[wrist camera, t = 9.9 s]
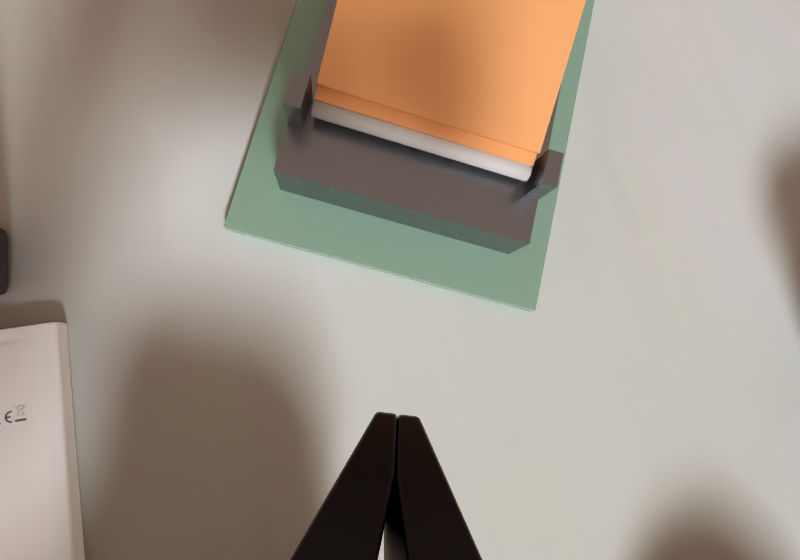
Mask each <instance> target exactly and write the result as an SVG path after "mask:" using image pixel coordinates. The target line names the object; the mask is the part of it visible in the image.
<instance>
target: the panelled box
mask: <svg viewBox="0 0 800 560" xmlns="http://www.w3.org/2000/svg"><path fill="white" fill-rule="evenodd" d="M6 291H7V248H6V231H5V230H3V229H1V228H0V295H1V294H4V293H6Z"/></svg>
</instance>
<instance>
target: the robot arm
mask: <svg viewBox="0 0 800 560" xmlns="http://www.w3.org/2000/svg"><path fill="white" fill-rule="evenodd" d="M383 531H384V560H482V558H481V556H480V554H479V551H478V549H477V547H476V545H475V542H474V540H473V538H472V536H471V533H470V531H469V529H468V527H467V524H466V522H465V520H464V518H463V515H462V513H461V511H460V508H459V506H458V504H457V502H456V499H455V497H454V495H453V493H452V490H451V488H450V486H449V484H448V481H447V479H446V477H445V475H444V472H443V470H442V468H441V466H440V463H439V461H438V459H437V457H436V454H435V452H434V450H433V447H432V445H431V443H430V441H429V438H428V436H427V434H426V432H425V429H424V427H423V425H422V423H421V421H420V419H419V418H418V417H416V416H408V415H399V416H398V417H397V416H396V415H395V414H392V413H384V412H377V413H376V414H375V415H374V417H373V419H372V420H371V422H370V424H369V425H368V427H367V429H366V431H365V432H364V434H363V436H362V437H361V439H360V441H359V443H358V444H357V446H356V448H355V449H354V451H353V453H352V455H351V456H350V458H349V460H348V461H347V463H346V465H345V467H344V468H343V470H342V472H341V473H340V475H339V477H338V479H337V480H336V482H335V484H334V485H333V487H332V489H331V491H330V492H329V494H328V496H327V497H326V499H325V501H324V502H323V504H322V506H321V508H320V509H319V511H318V513H317V514H316V516H315V518H314V520H313V521H312V523H311V525H310V526H309V528H308V530H307V532H306V533H305V535H304V537H303V538H302V540H301V542H300V544H299V545H298V547H297V549H296V550H295V552H294V554H293V556H292V557H291V559H290V560H378V555H379V551H380V546H381V541H382V536H383Z"/></svg>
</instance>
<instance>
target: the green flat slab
mask: <svg viewBox="0 0 800 560" xmlns="http://www.w3.org/2000/svg"><path fill="white" fill-rule="evenodd" d="M325 4H326V0H297V3H296V6H295V9H294V12H293V15H292V18H291V21H290V24H289V27H288V31H287V34H286V37H285V40H284V43H283V46H282V49H281V52H280V55H279V58H278V61H277V64H276V67H275V70H274V74H273V77H272V80H271V83H270V86H269V89H268V92H267V95H266V98H265V101H264V104H263V107H262V110H261V113H260V116H259V120H258V123H257V126H256V129H255V132H254V135H253V138H252V141H251V144H250V147H249V150H248V153H247V156H246V159H245V163H244V166H243V169H242V172H241V175H240V178H239V181H238V184H237V187H236V190H235V193H234V196H233V199H232V202H231V205H230V209H229V212H228V215H227V218H226V221H225V224H224V227H225V228H226V229H227V230H230V231H234V232H238V233H241V234H245V235H249V236H252V237H256V238H260V239H264V240H267V241H271V242H275V243H279V244H282V245H286V246H290V247H293V248H297V249H301V250H305V251H308V252H312V253H316V254H319V255H323V256H327V257H331V258H334V259H338V260H342V261H345V262H349V263H353V264H357V265H360V266H364V267H368V268H371V269H375V270H379V271H383V272H386V273H390V274H394V275H397V276H401V277H405V278H409V279H412V280H416V281H420V282H423V283H427V284H431V285H435V286H438V287H442V288H446V289H449V290H453V291H457V292H461V293H464V294H468V295H472V296H476V297H479V298H483V299H487V300H490V301H494V302H498V303H502V304H505V305H509V306H513V307H516V308H520V309H524V310H528V311H535V309H536V303H537V298H538V293H539V288H540V282H541V277H542V272H543V267H544V261H545V256H546V251H547V246H548V240H549V235H550V230H551V225H552V219H553V214H554V209H555V204H556V199H557V193H558V188H559V183H560V178H561V172H562V167H563V162H564V157H565V151H566V146H567V141H568V136H569V130H570V125H571V120H572V115H573V109H574V104H575V99H576V94H577V88H578V83H579V78H580V73H581V67H582V62H583V57H584V52H585V47H586V41H587V36H588V31H589V26H590V20H591V15H592V10H593V5H594V0H586V2H585V6H584V9H583V12H582V16H581V19H580V22H579V25H578V29H577V32H576V35H575V39H574V42H573V45H572V49H571V52H570V55H569V59H568V62H567V65H566V69H565V72H564V75H563V78H562V83H561V88H560V93H559V98H558V103H557V108H556V113H555V118H554V123H553V128H552V133H551V138H550V143H549V148H548V149H551V150H555V151H558V152H561V153H564V155H563V160H562V165H561V170H560V176H559V181H558V186H557V188H555V189H554V190H552V191H551V192H549V193H548V194H546V195H545V196H543V197H542V198H541V199H539V200H538V204H537V209H536V214H535V219H534V224H533V229H532V234H531V239H530V244H528V245H526V246H524V247H522V248H520V249H518V250H516V251H514V252H512V253H510V254H506V253H502V252H499V251H495V250H491V249H488V248H484V247H481V246H477V245H474V244H470V243H467V242H463V241H460V240H456V239H453V238H449V237H446V236H442V235H438V234H435V233H431V232H428V231H424V230H421V229H417V228H414V227H410V226H407V225H403V224H400V223H396V222H392V221H389V220H385V219H382V218H378V217H375V216H371V215H368V214H364V213H361V212H357V211H354V210H350V209H347V208H343V207H339V206H336V205H332V204H329V203H325V202H322V201H318V200H315V199H311V198H308V197H304V196H301V195H297V194H294V193H290V192H286V191H283V190H280V188H279V185H278V182H277V179H276V176H275V174H274V171H273V170H274V167H275V163H276V160H277V157H278V154H279V151H280V147H281V144H282V141H283V138H284V135H285V131H286V128H287V120H286V115H285V110H284V106H283V102H284V98H285V95H286V92H287V89H288V86H289V83H290V80H291V76H292V73H293V70H294V69H297V70H301V71H305V67H306V64H307V61H308V58H309V55H310V51H311V48H312V45H313V42H314V39H315V35H316V32H317V29H318V26H319V23H320V19H321V16H322V13H323V10H324V7H325Z"/></svg>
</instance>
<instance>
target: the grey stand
mask: <svg viewBox="0 0 800 560" xmlns="http://www.w3.org/2000/svg"><path fill="white" fill-rule="evenodd" d="M336 4H337V0H326V4H325V7H324V10H323V13H322V16H321V19H320V23H319V26H318V29H317V32H316V35H315V39H314V42H313V45H312V48H311V51H310V55H309V58H308V61H307V64H306V67H305V71H301V70H297V69H294V70H293V73H292V76H291V80H290V83H289V86H288V89H287V92H286V95H285V98H284V102H283V106H284V110H285V115H286V120H287V128H286V131H285V135H284V138H283V141H282V144H281V147H280V151H279V154H278V157H277V160H276V163H275V167H274V170H273V171H274V174H275V176H276V179H277V182H278V185H279V188H280V190H283V191H286V192H290V193H294V194H297V195H301V196H304V197H308V198H311V199H315V200H318V201H322V202H325V203H329V204H332V205H336V206H339V207H343V208H347V209H350V210H354V211H357V212H361V213H364V214H368V215H371V216H375V217H378V218H382V219H385V220H389V221H392V222H396V223H400V224H403V225H407V226H410V227H414V228H417V229H421V230H424V231H428V232H431V233H435V234H438V235H442V236H446V237H449V238H453V239H456V240H460V241H463V242H467V243H470V244H474V245H477V246H481V247H484V248H488V249H491V250H495V251H499V252H502V253H506V254H510V253H512V252H514V251H516V250H518V249H520V248H522V247H524V246H526V245H528V244H530V239H531V234H532V229H533V224H534V219H535V214H536V209H537V204H538V200H539V199H541V198H542V197H543V196H545V195H546V194H548V193H549V192H551V191H552V190H554V189H555V188H557V186H558V181H559V176H560V170H561V165H562V160H563V155H564V153H561V152H558V151H555V150H551V149H548V148H549V143H550V138H551V133H552V128H553V123H554V118H555V113H556V108H557V103H558V98H559V93H560V88H561V85H560V88H559V92H558V95H557V98H556V102H555V105H554V108H553V112H552V115H551V118H550V122H549V125H548V128H547V132H546V135H545V138H544V141H543V145H542V148H541V151H540V153H539V154H537V156H536V159H535V162H534V166H533V167H532V172H531V175H530V177H529V179H528V180H527V181H526V182H525V181H522V180H518V179H515V178H512V177H508V176H505V175H502V174H499V173H495V172H492V171H489V170H485V169H482V168H479V167H476V166H472V165H469V164H466V163H462V162H459V161H456V160H453V159H449V158H446V157H443V156H439V155H436V154H433V153H430V152H426V151H423V150H420V149H416V148H413V147H410V146H406V145H403V144H400V143H397V142H393V141H390V140H387V139H383V138H380V137H377V136H374V135H370V134H367V133H364V132H360V131H357V130H354V129H351V128H347V127H344V126H341V125H337V124H334V123H331V122H328V121H324V120H321V119H318V118H314V117H312V116H311V112H312V106H313V102H314V100H315V99H314V98H315V94H316V90H317V80H318V76H319V72H320V68H321V64H322V60H323V56H324V52H325V48H326V44H327V40H328V36H329V32H330V28H331V24H332V20H333V16H334V12H335V8H336ZM561 83H562V82H561Z"/></svg>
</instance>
